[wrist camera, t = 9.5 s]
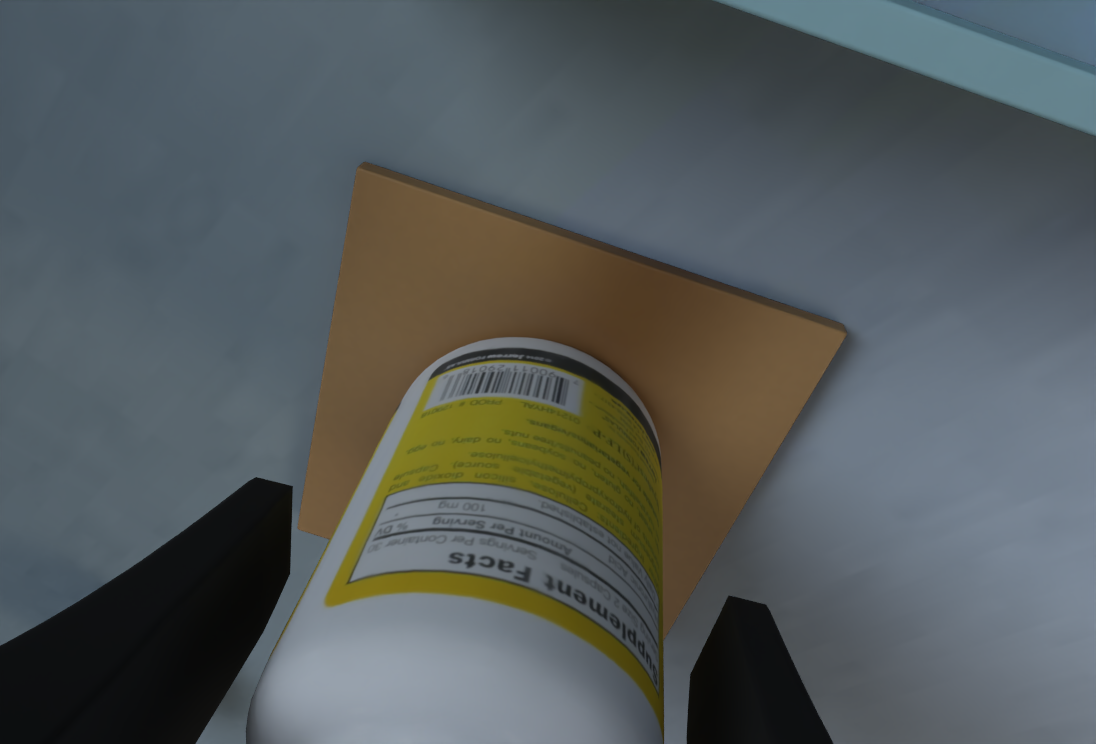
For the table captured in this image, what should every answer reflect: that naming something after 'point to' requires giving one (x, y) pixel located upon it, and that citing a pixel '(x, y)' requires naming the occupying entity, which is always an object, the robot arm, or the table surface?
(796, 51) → the table surface
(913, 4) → the container
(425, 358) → the coaster
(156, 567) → the robot arm
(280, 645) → the supplement bottle
